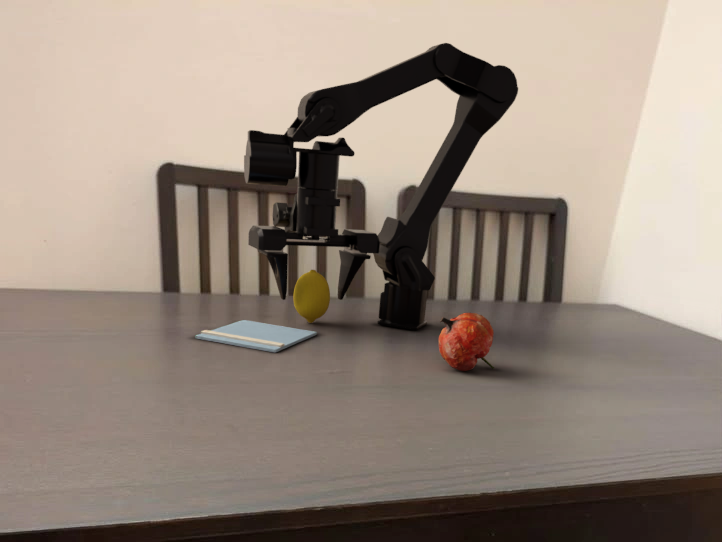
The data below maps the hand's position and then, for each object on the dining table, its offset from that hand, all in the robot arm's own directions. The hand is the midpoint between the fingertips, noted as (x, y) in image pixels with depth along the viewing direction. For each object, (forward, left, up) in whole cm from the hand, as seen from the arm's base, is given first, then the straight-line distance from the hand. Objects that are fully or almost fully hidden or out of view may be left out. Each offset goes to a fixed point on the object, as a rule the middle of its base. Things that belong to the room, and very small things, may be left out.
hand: (312, 299), depth 110 cm
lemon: (0, 0, -4) cm, 4 cm away
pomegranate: (-27, +11, -4) cm, 29 cm away
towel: (+2, +13, -4) cm, 14 cm away
